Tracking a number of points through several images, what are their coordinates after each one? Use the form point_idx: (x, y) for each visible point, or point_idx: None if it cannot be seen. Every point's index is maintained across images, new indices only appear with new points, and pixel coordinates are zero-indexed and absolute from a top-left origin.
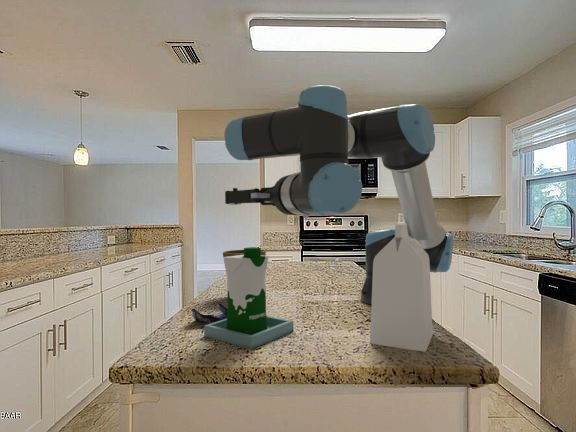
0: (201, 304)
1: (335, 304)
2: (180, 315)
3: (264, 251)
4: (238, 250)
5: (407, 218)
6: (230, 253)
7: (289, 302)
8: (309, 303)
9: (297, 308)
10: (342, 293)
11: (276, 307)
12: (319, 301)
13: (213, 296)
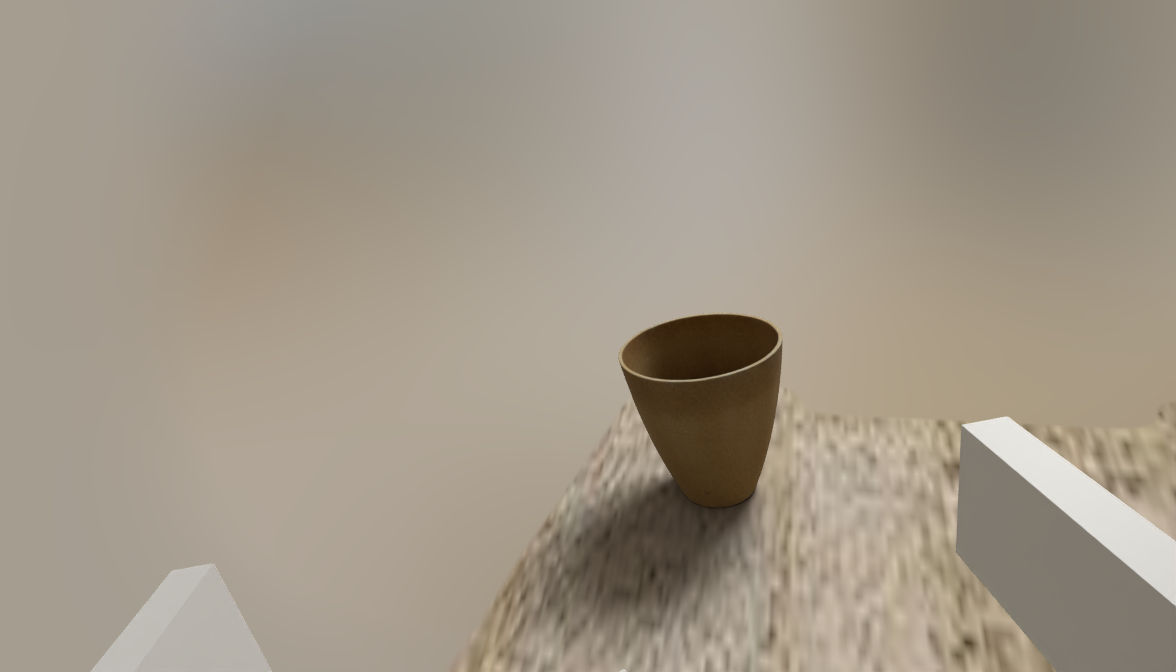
0: (566, 540)
1: None
2: (471, 650)
3: (775, 352)
4: (682, 319)
5: None
6: (639, 376)
7: (890, 565)
8: (988, 592)
9: (937, 655)
10: (1128, 481)
11: (835, 622)
12: None
13: (618, 468)
